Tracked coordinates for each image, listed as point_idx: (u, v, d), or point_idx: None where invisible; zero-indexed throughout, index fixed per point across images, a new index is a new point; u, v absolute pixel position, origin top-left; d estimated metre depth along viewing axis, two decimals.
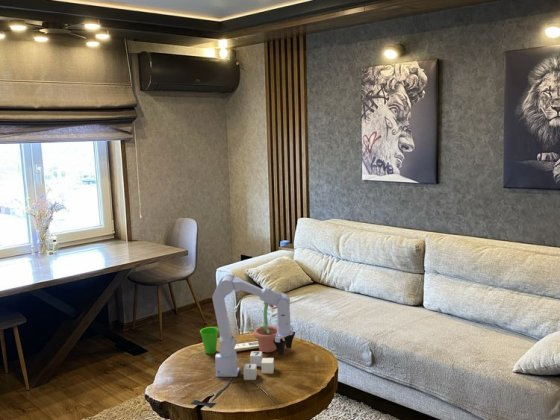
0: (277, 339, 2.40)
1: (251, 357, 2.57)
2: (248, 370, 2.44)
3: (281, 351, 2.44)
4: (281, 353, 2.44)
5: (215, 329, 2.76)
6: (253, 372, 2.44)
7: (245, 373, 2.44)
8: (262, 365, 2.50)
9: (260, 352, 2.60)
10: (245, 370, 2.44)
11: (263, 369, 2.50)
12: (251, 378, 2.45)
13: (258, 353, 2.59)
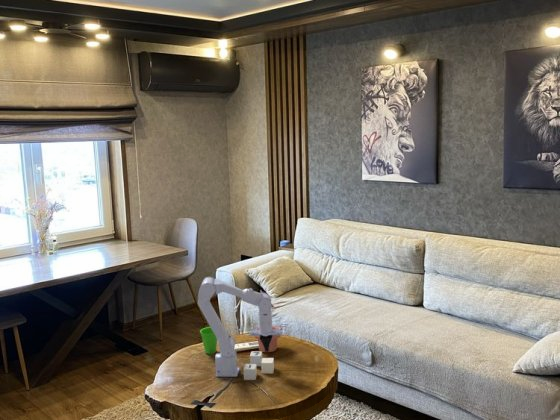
0: None
1: (251, 357, 2.57)
2: (248, 370, 2.44)
3: None
4: (265, 349, 2.50)
5: None
6: (253, 372, 2.44)
7: (245, 373, 2.44)
8: (262, 365, 2.50)
9: (260, 352, 2.60)
10: (245, 370, 2.44)
11: (263, 369, 2.50)
12: (251, 378, 2.45)
13: (258, 353, 2.59)
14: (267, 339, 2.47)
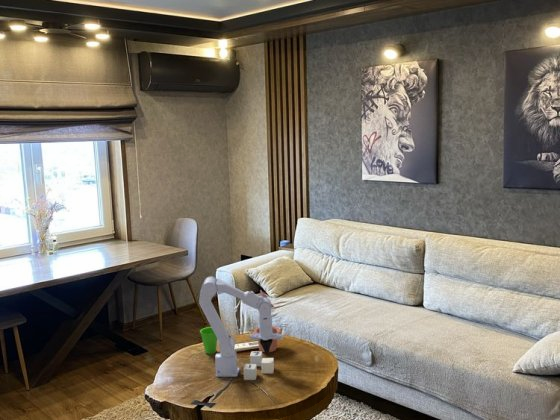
0: None
1: (251, 357, 2.57)
2: (248, 370, 2.44)
3: None
4: (265, 353, 2.51)
5: None
6: (253, 372, 2.44)
7: (245, 373, 2.44)
8: (262, 365, 2.50)
9: (260, 352, 2.60)
10: (245, 370, 2.44)
11: (263, 369, 2.50)
12: (251, 378, 2.45)
13: (258, 353, 2.59)
14: (267, 343, 2.47)
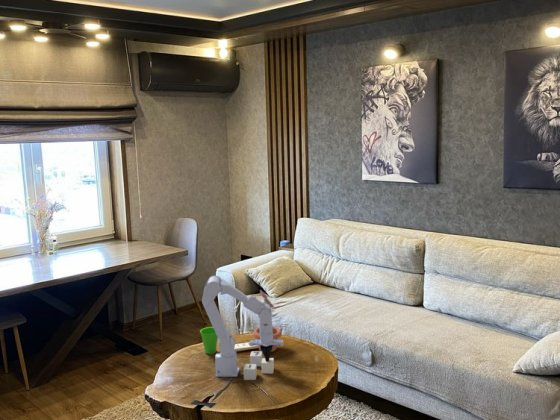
0: (250, 342, 2.50)
1: (251, 357, 2.57)
2: (248, 370, 2.44)
3: (265, 357, 2.51)
4: None
5: None
6: (253, 372, 2.44)
7: (245, 373, 2.44)
8: (262, 365, 2.50)
9: (260, 352, 2.60)
10: (245, 370, 2.44)
11: (263, 369, 2.50)
12: (251, 378, 2.45)
13: (258, 353, 2.59)
14: (267, 349, 2.48)
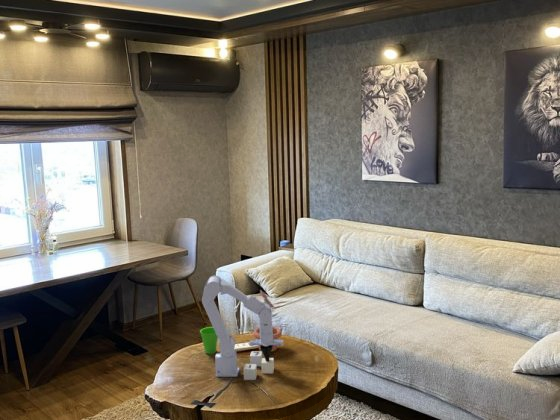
0: (250, 342, 2.50)
1: (251, 357, 2.57)
2: (248, 370, 2.44)
3: (265, 357, 2.51)
4: None
5: None
6: (253, 372, 2.44)
7: (245, 373, 2.44)
8: (262, 365, 2.50)
9: (260, 352, 2.60)
10: (245, 370, 2.44)
11: (263, 369, 2.50)
12: (251, 378, 2.45)
13: (258, 353, 2.59)
14: (268, 349, 2.48)
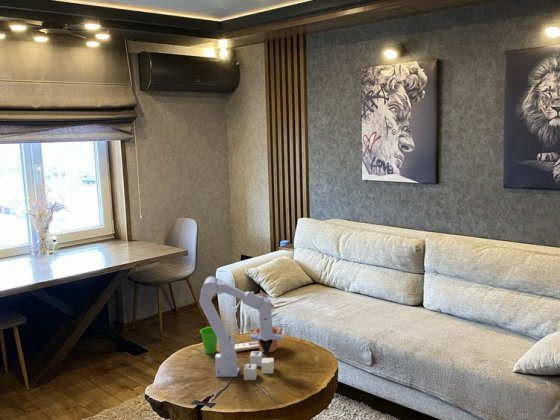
0: None
1: (251, 357, 2.57)
2: (248, 370, 2.44)
3: None
4: (265, 353, 2.51)
5: None
6: (253, 372, 2.44)
7: (245, 373, 2.44)
8: (262, 365, 2.50)
9: (260, 352, 2.60)
10: (245, 370, 2.44)
11: (263, 369, 2.50)
12: (251, 378, 2.45)
13: (258, 353, 2.59)
14: (267, 343, 2.47)
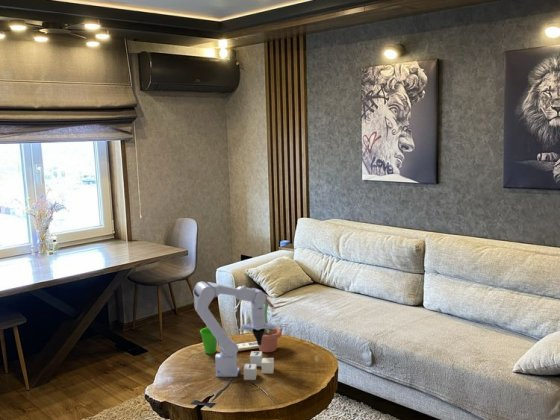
0: None
1: (251, 357, 2.57)
2: (248, 370, 2.44)
3: (257, 340, 2.56)
4: (257, 342, 2.56)
5: None
6: (253, 372, 2.44)
7: (245, 373, 2.44)
8: (262, 365, 2.50)
9: (260, 352, 2.60)
10: (245, 370, 2.44)
11: (263, 369, 2.50)
12: (251, 378, 2.45)
13: (258, 353, 2.59)
14: (260, 333, 2.53)
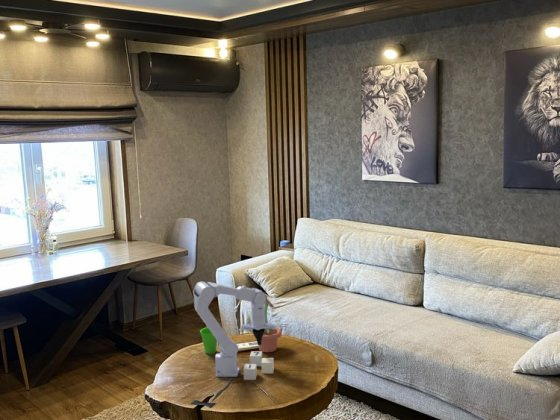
0: None
1: (251, 357, 2.57)
2: (248, 370, 2.44)
3: (257, 340, 2.56)
4: (257, 342, 2.56)
5: None
6: (253, 372, 2.44)
7: (245, 373, 2.44)
8: (262, 365, 2.50)
9: (260, 352, 2.60)
10: (245, 370, 2.44)
11: (263, 369, 2.50)
12: (251, 378, 2.45)
13: (258, 353, 2.59)
14: (260, 333, 2.53)
